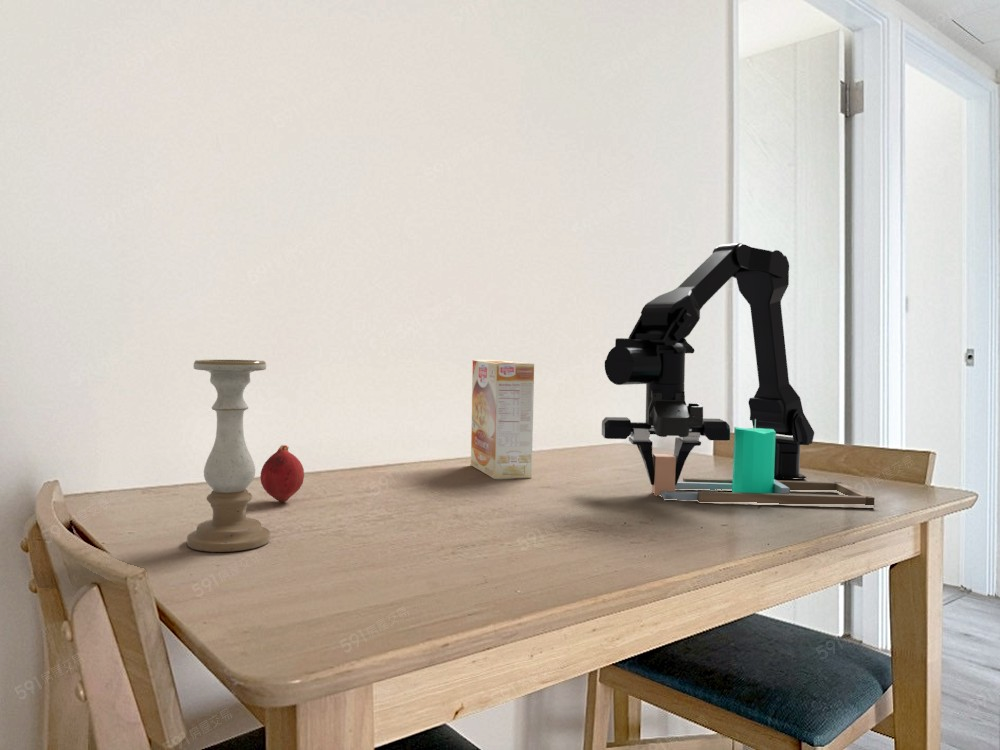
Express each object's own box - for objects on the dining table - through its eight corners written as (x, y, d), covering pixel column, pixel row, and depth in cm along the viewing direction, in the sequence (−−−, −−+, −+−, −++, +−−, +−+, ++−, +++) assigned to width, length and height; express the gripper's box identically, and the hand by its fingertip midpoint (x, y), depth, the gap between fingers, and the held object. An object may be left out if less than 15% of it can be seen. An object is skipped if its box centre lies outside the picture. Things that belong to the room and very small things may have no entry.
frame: (648, 488, 128) (649, 450, 127) (769, 491, 127) (771, 454, 127) (658, 500, 118) (659, 460, 118) (789, 504, 117) (790, 463, 117)
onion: (291, 507, 108) (292, 448, 107) (252, 505, 109) (253, 446, 108) (310, 499, 113) (311, 443, 113) (272, 497, 114) (273, 441, 114)
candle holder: (241, 529, 95) (242, 359, 94) (286, 542, 90) (287, 361, 89) (171, 543, 88) (172, 359, 87) (215, 558, 83) (216, 362, 82)
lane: (682, 487, 129) (683, 477, 129) (840, 492, 128) (840, 482, 128) (699, 503, 116) (699, 492, 116) (874, 508, 115) (874, 497, 115)
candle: (730, 499, 120) (733, 419, 120) (733, 492, 126) (736, 416, 125) (772, 502, 118) (775, 422, 117) (773, 495, 124) (776, 418, 123)
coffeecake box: (469, 465, 147) (471, 359, 146) (506, 464, 149) (508, 359, 148) (492, 479, 133) (495, 362, 132) (533, 478, 135) (536, 362, 134)
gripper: (609, 385, 114) (607, 493, 115) (740, 387, 114) (738, 496, 114) (602, 381, 125) (600, 480, 126) (722, 382, 125) (719, 482, 125)
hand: (663, 484), depth 123 cm, fingers closed on frame, 3 cm apart
